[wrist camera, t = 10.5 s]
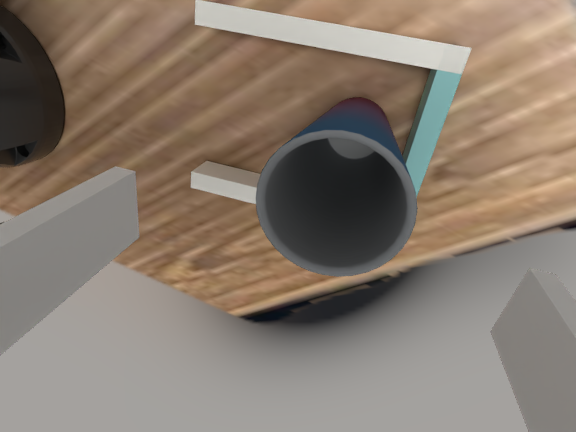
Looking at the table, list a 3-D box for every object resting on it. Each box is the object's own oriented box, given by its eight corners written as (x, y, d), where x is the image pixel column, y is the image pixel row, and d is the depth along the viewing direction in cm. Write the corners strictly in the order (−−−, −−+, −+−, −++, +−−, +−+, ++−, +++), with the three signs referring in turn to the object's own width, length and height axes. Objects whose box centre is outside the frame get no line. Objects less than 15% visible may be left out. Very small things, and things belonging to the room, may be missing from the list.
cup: (408, 159, 28) (431, 265, 15) (326, 179, 30) (283, 285, 17) (390, 71, 26) (398, 106, 13) (302, 100, 28) (232, 154, 15)
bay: (205, 175, 33) (190, 187, 30) (214, 3, 26) (195, -1, 24) (398, 223, 31) (400, 241, 28) (461, 47, 24) (471, 48, 21)
